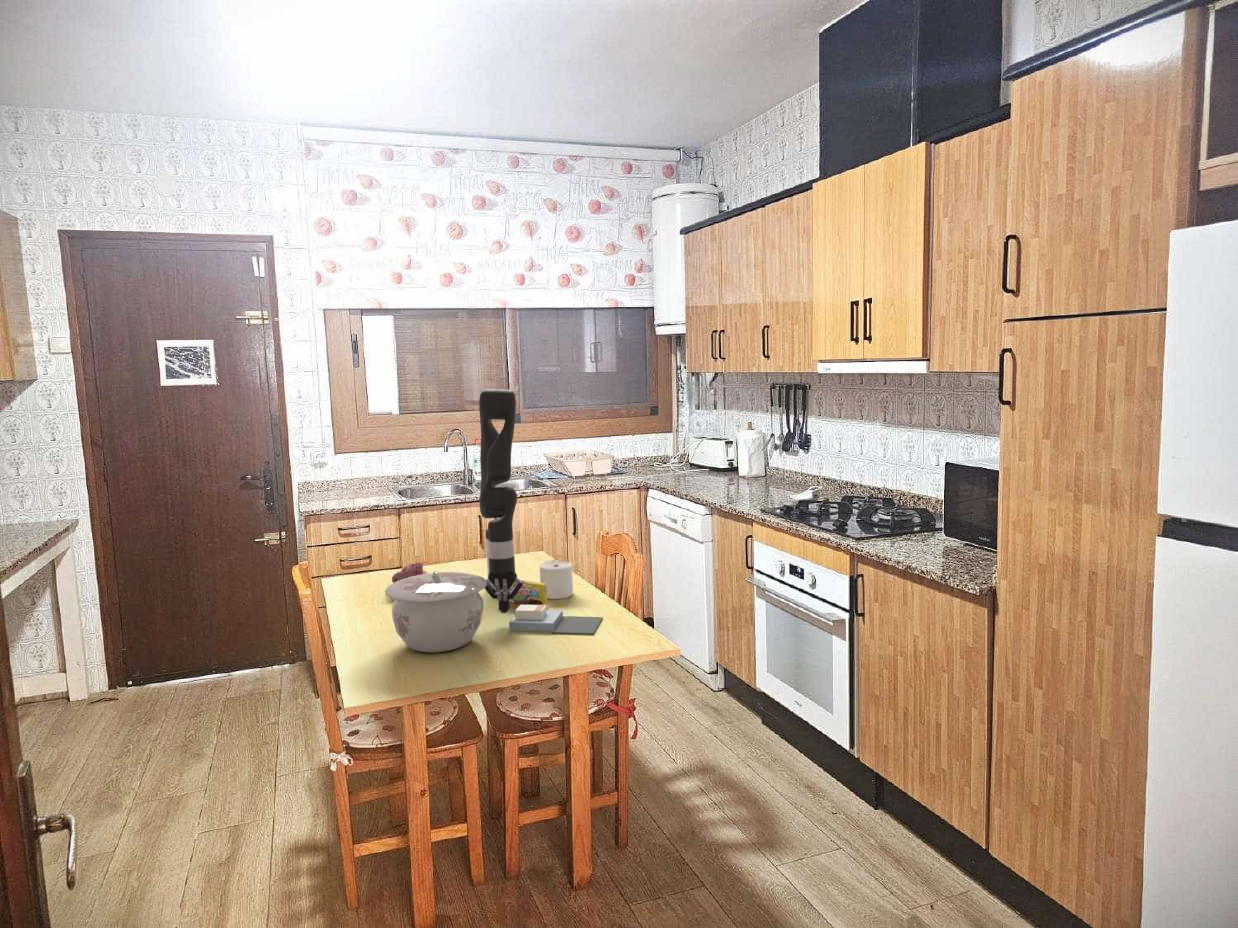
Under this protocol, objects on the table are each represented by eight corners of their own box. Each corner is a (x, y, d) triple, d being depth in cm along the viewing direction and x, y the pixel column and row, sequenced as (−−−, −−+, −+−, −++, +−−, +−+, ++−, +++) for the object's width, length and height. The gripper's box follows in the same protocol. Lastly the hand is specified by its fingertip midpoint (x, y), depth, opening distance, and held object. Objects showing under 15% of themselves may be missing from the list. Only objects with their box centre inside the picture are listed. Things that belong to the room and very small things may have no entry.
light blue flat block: (521, 617, 244) (520, 609, 244) (562, 618, 242) (562, 610, 242) (509, 630, 232) (508, 622, 232) (553, 631, 230) (553, 623, 230)
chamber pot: (444, 669, 205) (439, 590, 202) (366, 653, 218) (361, 578, 215) (511, 635, 229) (508, 563, 226) (437, 622, 242) (433, 554, 239)
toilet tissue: (553, 601, 259) (552, 571, 258) (532, 594, 268) (530, 564, 267) (579, 594, 266) (578, 564, 264) (558, 587, 275) (556, 558, 273)
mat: (563, 617, 243) (563, 616, 242) (602, 618, 241) (602, 616, 241) (552, 633, 229) (552, 631, 229) (593, 634, 227) (593, 633, 227)
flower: (442, 577, 281) (432, 551, 278) (432, 595, 267) (421, 568, 264) (403, 589, 282) (392, 564, 280) (391, 607, 268) (379, 581, 266)
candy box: (501, 604, 258) (500, 579, 257) (505, 602, 260) (504, 577, 259) (544, 610, 251) (543, 584, 249) (548, 608, 252) (546, 582, 251)
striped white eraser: (520, 612, 240) (520, 604, 240) (546, 613, 239) (546, 604, 239) (515, 618, 235) (515, 610, 235) (542, 619, 234) (541, 610, 233)
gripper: (526, 551, 238) (529, 608, 241) (484, 551, 241) (487, 607, 243) (519, 558, 231) (522, 616, 233) (475, 557, 233) (478, 615, 236)
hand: (504, 612), depth 238 cm, fingers closed
